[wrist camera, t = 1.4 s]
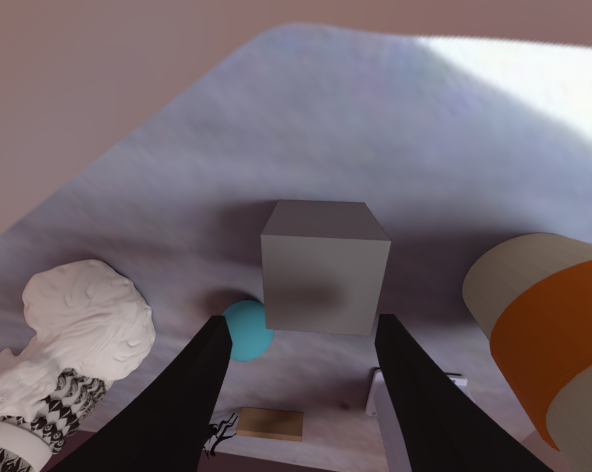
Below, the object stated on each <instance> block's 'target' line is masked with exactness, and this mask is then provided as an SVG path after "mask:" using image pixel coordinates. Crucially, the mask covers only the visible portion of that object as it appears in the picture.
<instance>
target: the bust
mask: <svg viewBox="0 0 592 472" xmlns="http://www.w3.org/2000/svg"><path fill="white" fill-rule="evenodd" d="M22 300H23V302H24V316H25V320H26V323H27V324H28V325H29V326H30V327H31V328H33V329H34V330H35V331H36V332H37V333H36V336H35V337H33V338H31V340H30V342H29V344H28V346H27V347H26V348H25V349H24V350H23V351H22V352H21V354H20V355H18V356H14V355H13V354H12V352H11V350H10V349H9V348H5V349H4V350H3V351H2V352H1V353H0V416H7V415H10V416H13V417H16V416H21V417H24V421H26V422H32V421H33V420H34V419H35V417H36V414H37V411H38V410H39V409H41V408H42V407H44V406H45V405H46V401H39V400H41V399H44V398H46V397H47V396H48V395H49V394H51V393H52V392H53V391H54V390H55V389H56V388H57V381H58V379H57V377H58V376H59V375H60V374H61V372H62V371H63V370H64V369H65V368H74V369H75V370H76V372H77V373H78V374H80V375H83V376H86V377H91V378H99V379H101V380H103V381H114V380H120V379H123V378H125V377H126V376H128V375H129V374H130V372H131V371H133V370H135V369H136V368H137V367H138V366H139V365H140V363H141V361H142V360H143V358H145V357H146V356H147V355H148V353H149V352H150V350H151V348H152V345H153V343H154V340H155V335H156V333H155V329H154V325H153V323H152V320H151V316H152V310H151V307H150V306H148V305H147V304H146V301H145V300H144V298H143V297H142V296H141V294H140V293H139V291H138V290H137V289H136V288H135V287H134V285H133V282H132V281H131V280H130V279H128V278H126V277H124V276H122V275H120V274H118V273H117V272H115V271H114V270H113V269H112V268H111V267H109V266H108V265H107V264H106V263H104V262H102V261H100V260H95V259H90V260H82V261H77V262H73V263H69V264H65V265H60V266H57V267H55V268H53V269H51V270H48V271H45V272H40V273H36V274H35V275H33V276H32V278H31V279H30V280H29V282H28V283H27V285H26V287H25V289H24V291H23V294H22Z"/></svg>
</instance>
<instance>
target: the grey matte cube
mask: <svg viewBox="0 0 592 472" xmlns="http://www.w3.org/2000/svg"><path fill="white" fill-rule="evenodd" d="M390 245H391V240H390V238H389V237H388V236H387V234H386V233H385V231H384V230H383V228H382V227H381V226H380V224H379V223H378V221H377V220H376V219H375V217H374V216H373V214H372V213H371V211H370V210H369V209H368V207H367V206H366V204H365V203H356V202H330V201H304V200H279V201H278V203H277V205H276V206H275V208H274V210H273V212H272V214H271V216H270V218H269V220H268V222H267V224H266V226H265V227H264V229H263V231H262V233H261V251H262V270H263V290H264V309H265V328H266V329H276V330H290V331H304V332H317V333H331V334H344V335H358V336H371V332H372V327H373V323H374V318H375V314H376V309H377V305H378V300H379V296H380V291H381V286H382V282H383V277H384V273H385V268H386V264H387V259H388V255H389V250H390Z"/></svg>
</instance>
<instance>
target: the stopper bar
mask: <svg viewBox="0 0 592 472" xmlns="http://www.w3.org/2000/svg"><path fill="white" fill-rule="evenodd" d="M302 426H303V413H299V412H289V411H278V410H267V409H257V408H246V407H242V410H241V413H240V417H239V421H238V425H237V429H236V432H237V435H240V436H250V437H259V438H269V439H279V440H289V441H298V442H302Z"/></svg>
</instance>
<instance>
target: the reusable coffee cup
mask: <svg viewBox="0 0 592 472" xmlns="http://www.w3.org/2000/svg"><path fill="white" fill-rule="evenodd" d="M462 295H463V300H464V302H465V304H466V306H467V308H468V309H469V311H470V312H471V314H472V315H473V317H474V318H475V320H476V322H477V323H478V325H479V326H480V328H481V329H482V331H483V332H484V334H485V336H486V337H487V339H488V340H489V342H490V351H491V355H492V357H493V359H494V361H495V363H496V364H497V366H498V368H499V369H500V371H501V372H502V374H503V376H504V377H505V379H506V381H507V382H508V384H509V385H510V387H511V389H512V390H513V392H514V394H515V395H516V397H517V398H518V400H519V402H520V403H521V405H522V407H523V408H524V410H525V411H526V413H527V415H528V416H529V418H530V420H531V421H532V423H533V424H534V426H535V428H536V429H537V431H538V432H539V434H540V436H541V437H542V439H543V440H544V441H546V443H548V444H549V445H550V446H551V447H552V448H554V449H556V450H558V451H560V452H561V453H562V455H563V457H564V458H565V459H566V461H567V463H568V464H569V466H570V467H571V469H572V470H573V472H592V244H589V243H586V242H582V241H579V240H575V239H572V238H568V237H565V236H561V235H556V234H551V233H534V234H527V235H522V236H519V237H515V238H512V239H509V240H507V241H505V242H503V243H500V244H498V245H497V246H495V247H493V248H492V249H490V250H489V251H487V252H486V253H485V254H483V255H482V256H481V257H480V258H479V259H478V260H477V261H476V262H475V263H474V264H473V265H472V267H471V268H470V269H469V271H468V273H467V275H466V276H465V279H464V282H463V286H462Z"/></svg>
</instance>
